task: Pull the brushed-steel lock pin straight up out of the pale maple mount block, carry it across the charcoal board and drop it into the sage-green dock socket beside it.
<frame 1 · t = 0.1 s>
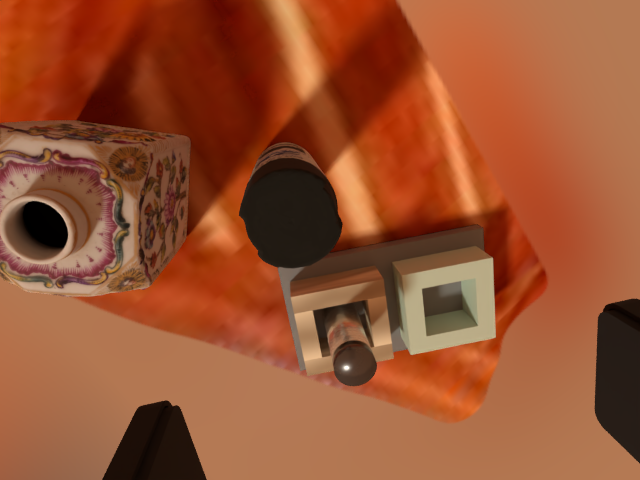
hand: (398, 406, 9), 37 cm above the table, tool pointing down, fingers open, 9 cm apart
steel pin: (339, 311, 48), point 1 cm above the table, touching base board
base board: (385, 296, 49), on the table
decorative jar: (134, 182, 43), on the table
maple mount: (337, 305, 49), resting on base board
spray can: (286, 173, 44), on the table
sage dock: (432, 287, 49), resting on base board
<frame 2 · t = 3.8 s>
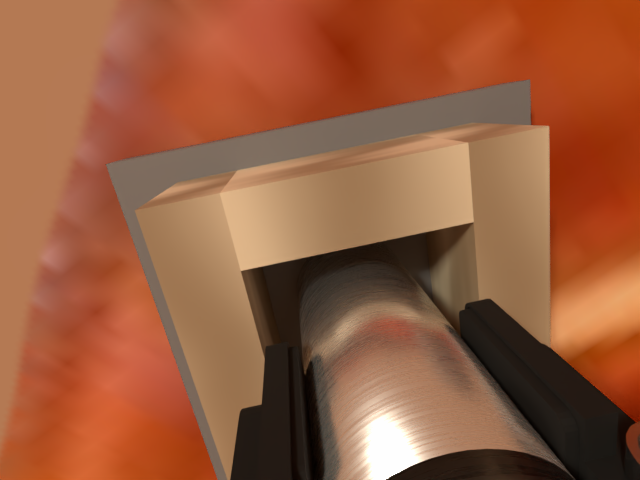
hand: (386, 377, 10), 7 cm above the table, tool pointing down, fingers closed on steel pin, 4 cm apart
steel pin: (351, 287, 15), point 1 cm above the table, touching base board, gripper
base board: (367, 392, 18), on the table
maple mount: (345, 272, 16), resting on base board
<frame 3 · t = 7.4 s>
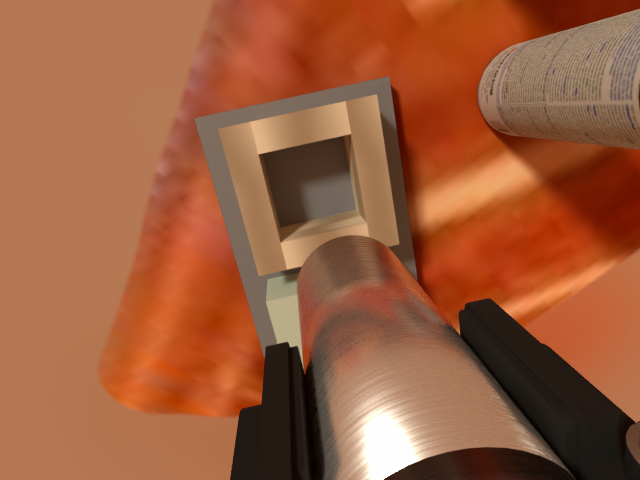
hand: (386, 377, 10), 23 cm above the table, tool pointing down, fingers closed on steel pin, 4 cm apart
steel pin: (350, 286, 15), point 18 cm above the table, touching gripper
base board: (324, 248, 33), on the table
maple mount: (309, 177, 31), resting on base board
spray can: (514, 92, 31), on the table
sage dock: (337, 311, 35), resting on base board
when the fingers open (8 cm above the table, at t = 11.2 s): steel pin drops 1 cm, resting on base board.
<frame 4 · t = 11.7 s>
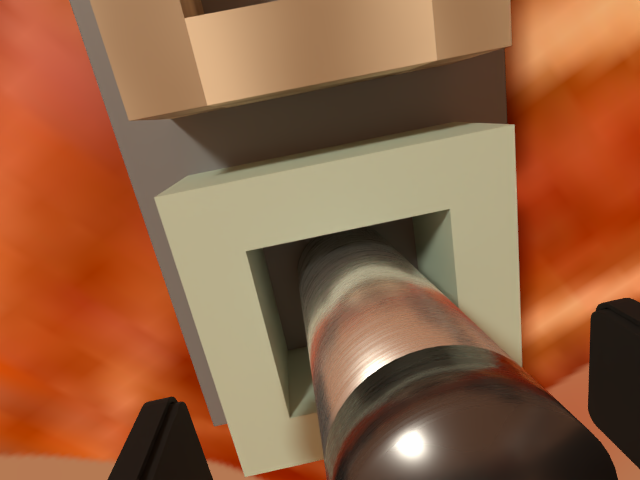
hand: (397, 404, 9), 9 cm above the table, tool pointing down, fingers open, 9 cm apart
steel pin: (347, 272, 16), point 2 cm above the table, touching base board
base board: (314, 119, 16), on the table
sage dock: (339, 259, 18), resting on base board
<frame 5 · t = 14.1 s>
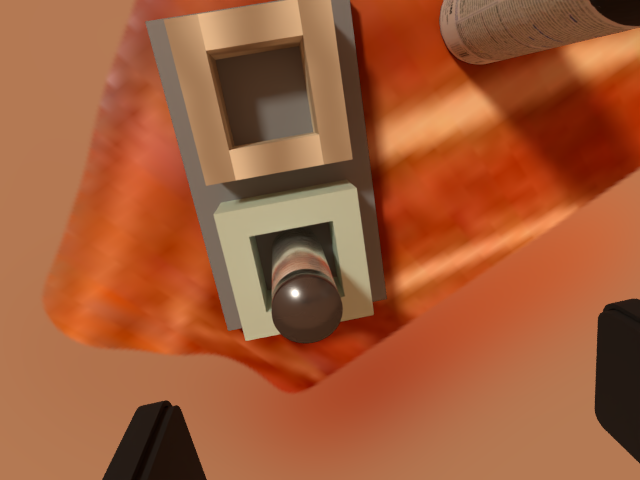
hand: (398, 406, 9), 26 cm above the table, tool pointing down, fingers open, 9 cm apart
steel pin: (296, 250, 33), point 2 cm above the table, touching base board
base board: (281, 175, 32), on the table
maple mount: (266, 98, 31), resting on base board
spray can: (476, 20, 31), on the table
sage dock: (295, 244, 34), resting on base board
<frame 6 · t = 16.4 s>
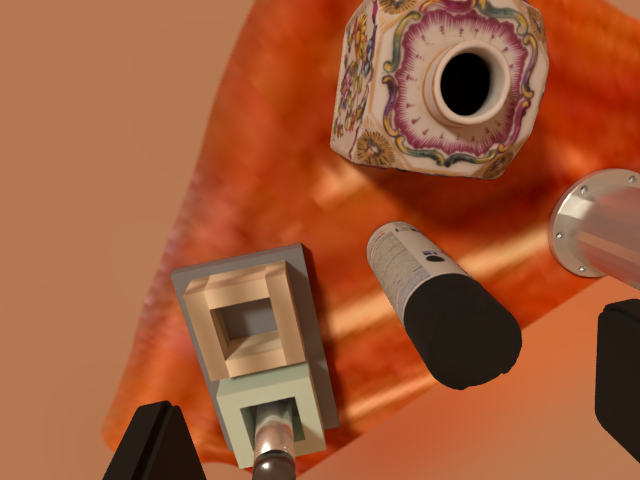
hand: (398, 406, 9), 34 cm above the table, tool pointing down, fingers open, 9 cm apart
steel pin: (274, 399, 47), point 2 cm above the table, touching base board
base board: (263, 349, 47), on the table
decorative jar: (392, 96, 40), on the table
maple mount: (250, 304, 45), resting on base board
spray can: (393, 248, 45), on the table
sage dock: (274, 391, 49), resting on base board
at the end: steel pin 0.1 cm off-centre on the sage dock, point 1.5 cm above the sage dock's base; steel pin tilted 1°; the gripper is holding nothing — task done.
